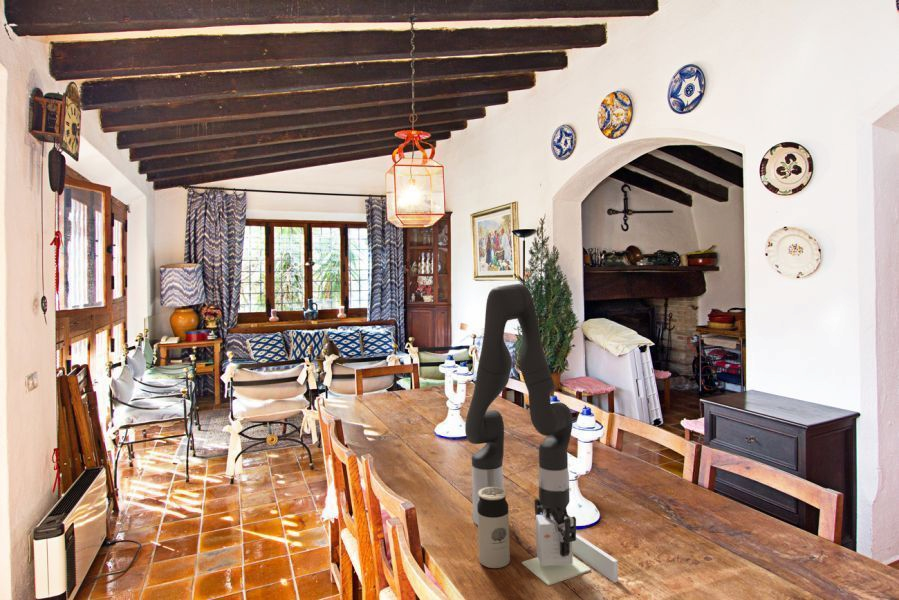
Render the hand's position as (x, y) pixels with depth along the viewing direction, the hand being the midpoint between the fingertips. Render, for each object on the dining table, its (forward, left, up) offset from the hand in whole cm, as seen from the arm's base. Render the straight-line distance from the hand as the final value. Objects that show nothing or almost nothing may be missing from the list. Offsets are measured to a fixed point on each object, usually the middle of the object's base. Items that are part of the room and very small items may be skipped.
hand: (555, 548), depth 130 cm
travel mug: (-10, -12, -5) cm, 16 cm away
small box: (0, 0, -3) cm, 3 cm away
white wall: (+2, +8, -5) cm, 10 cm away
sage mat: (0, 0, -5) cm, 5 cm away
